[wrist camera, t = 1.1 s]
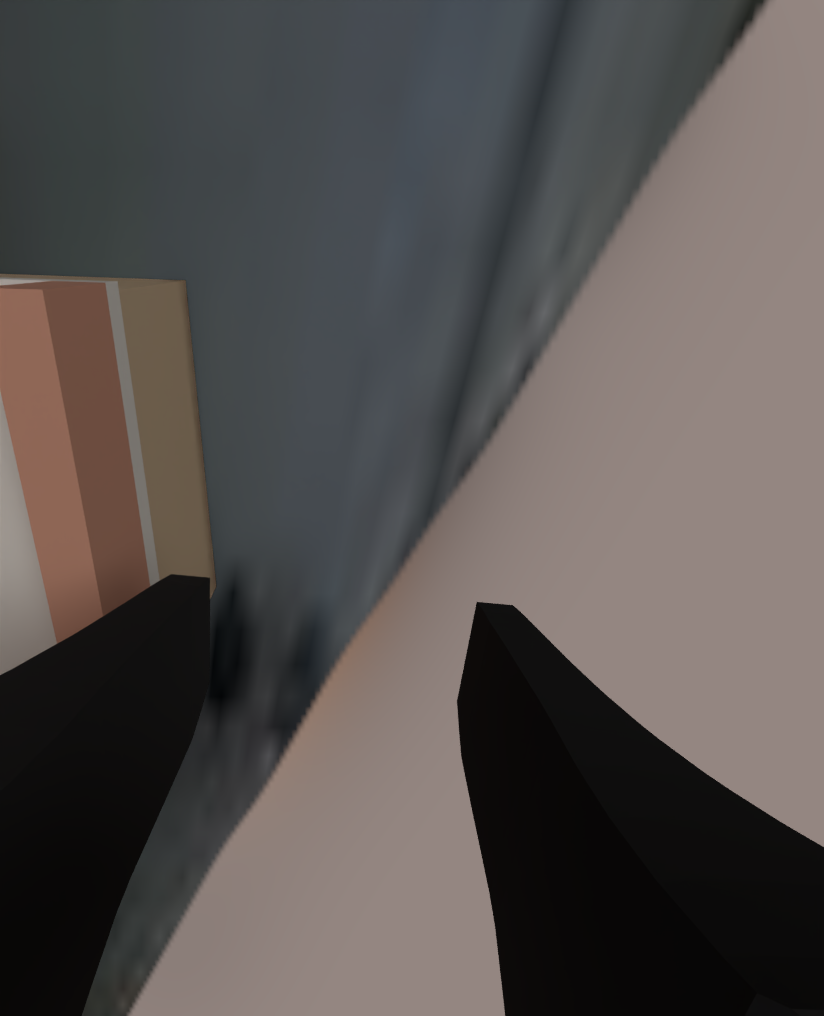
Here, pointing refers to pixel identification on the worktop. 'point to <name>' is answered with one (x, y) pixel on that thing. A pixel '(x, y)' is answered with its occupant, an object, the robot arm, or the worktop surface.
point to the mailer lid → (67, 465)
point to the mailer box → (166, 420)
